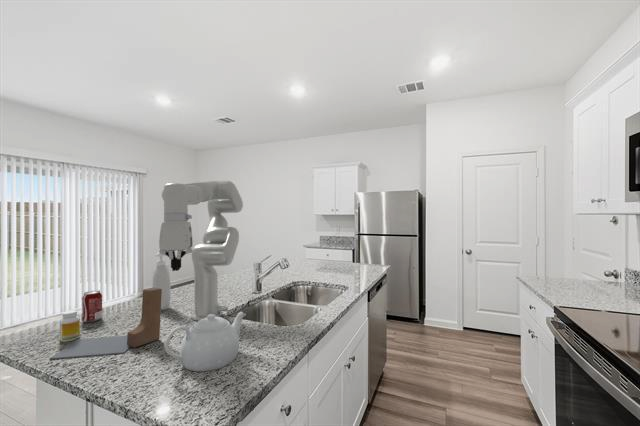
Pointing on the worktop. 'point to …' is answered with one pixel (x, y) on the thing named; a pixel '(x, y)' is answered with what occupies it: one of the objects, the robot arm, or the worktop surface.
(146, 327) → the wooden block
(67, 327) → the supplement bottle
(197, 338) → the teapot
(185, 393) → the worktop surface
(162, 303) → the soap bottle
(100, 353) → the rubber mat
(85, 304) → the soda can
